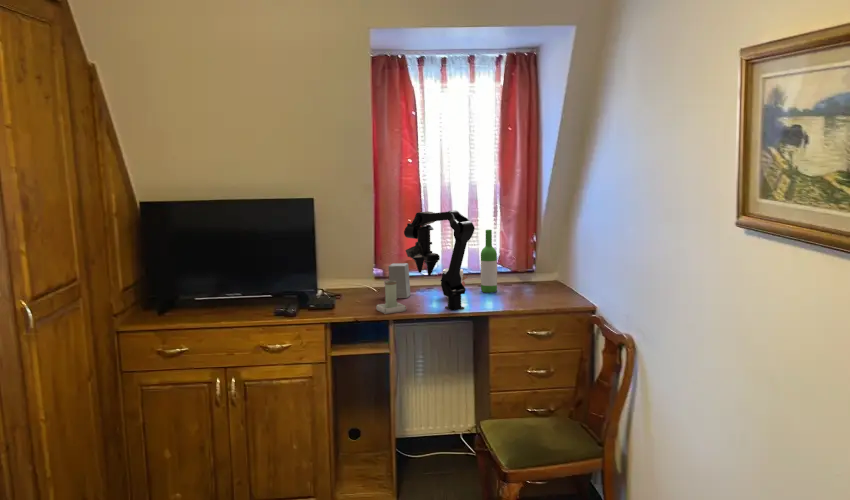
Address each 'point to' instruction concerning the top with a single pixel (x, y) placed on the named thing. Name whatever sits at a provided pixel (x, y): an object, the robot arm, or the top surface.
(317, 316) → the top surface
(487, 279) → the wine bottle
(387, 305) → the peg
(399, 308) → the tray
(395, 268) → the skincare box
